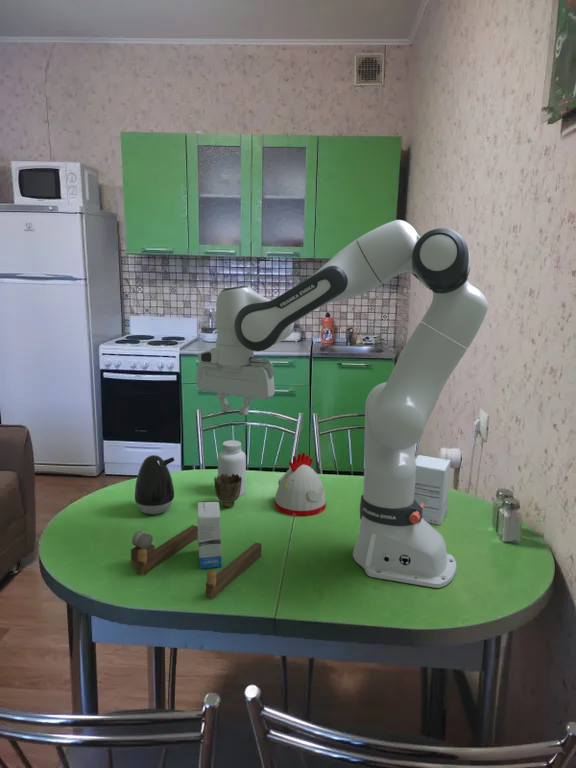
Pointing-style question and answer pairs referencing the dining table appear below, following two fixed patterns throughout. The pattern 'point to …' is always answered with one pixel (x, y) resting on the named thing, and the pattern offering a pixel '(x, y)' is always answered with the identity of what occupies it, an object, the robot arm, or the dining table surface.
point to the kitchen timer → (300, 489)
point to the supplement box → (432, 487)
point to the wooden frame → (150, 557)
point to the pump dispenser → (154, 486)
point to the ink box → (209, 535)
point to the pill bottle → (233, 462)
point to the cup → (227, 489)
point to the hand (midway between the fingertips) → (234, 412)
